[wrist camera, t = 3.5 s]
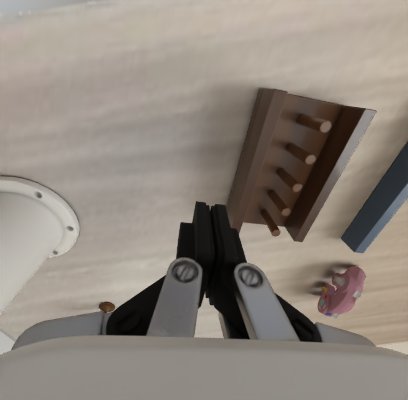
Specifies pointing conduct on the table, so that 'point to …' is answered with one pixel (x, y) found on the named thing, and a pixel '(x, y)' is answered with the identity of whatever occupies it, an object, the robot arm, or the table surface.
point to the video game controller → (342, 292)
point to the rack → (292, 160)
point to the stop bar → (380, 205)
